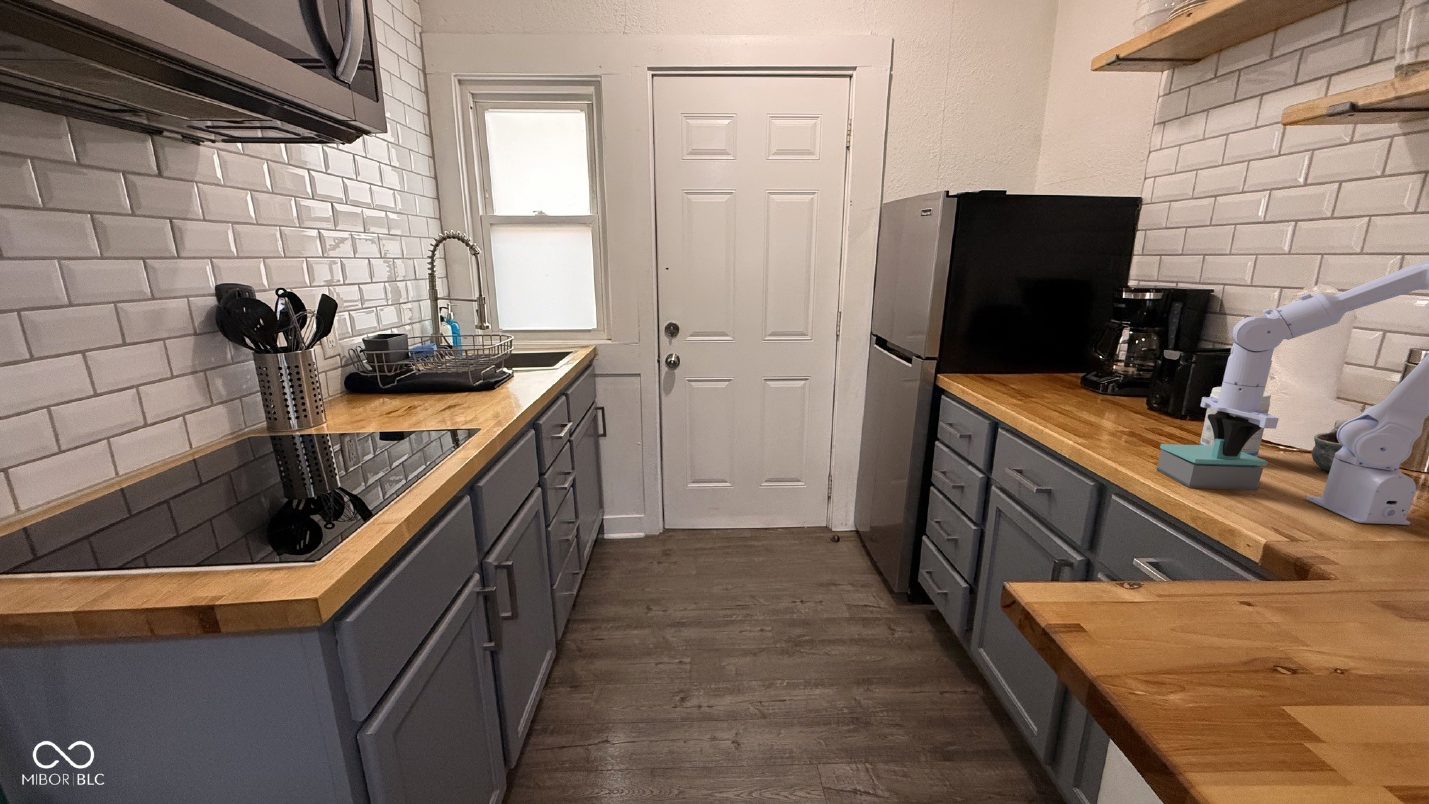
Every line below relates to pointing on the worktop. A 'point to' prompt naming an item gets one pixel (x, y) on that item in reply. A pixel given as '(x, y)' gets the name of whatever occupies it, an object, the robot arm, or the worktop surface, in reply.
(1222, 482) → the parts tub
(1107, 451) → the worktop surface
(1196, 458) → the lid
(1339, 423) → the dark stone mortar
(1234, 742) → the worktop surface
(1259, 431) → the supplement tub
